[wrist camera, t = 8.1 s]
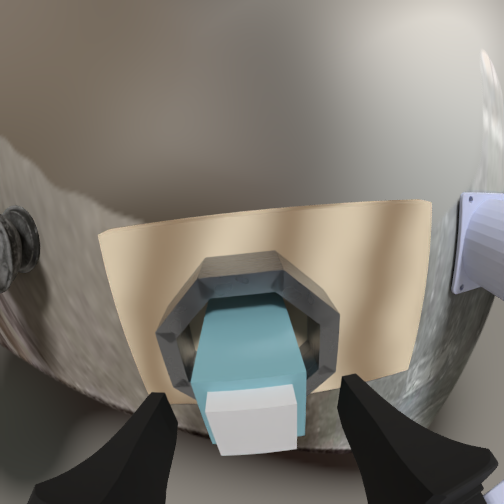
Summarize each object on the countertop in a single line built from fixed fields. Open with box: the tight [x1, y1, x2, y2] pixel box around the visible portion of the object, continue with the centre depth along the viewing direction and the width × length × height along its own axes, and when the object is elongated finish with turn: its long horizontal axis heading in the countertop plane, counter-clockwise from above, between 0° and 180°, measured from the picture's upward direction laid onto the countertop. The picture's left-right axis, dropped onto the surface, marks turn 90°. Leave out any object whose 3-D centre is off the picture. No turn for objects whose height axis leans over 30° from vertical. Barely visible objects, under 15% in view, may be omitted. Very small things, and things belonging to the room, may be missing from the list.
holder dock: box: [98, 199, 432, 404], centre depth 15 cm, size 20×13×4 cm, turn 96°
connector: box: [191, 292, 306, 456], centre depth 12 cm, size 4×4×8 cm
